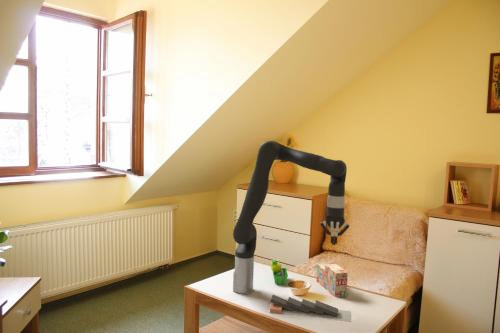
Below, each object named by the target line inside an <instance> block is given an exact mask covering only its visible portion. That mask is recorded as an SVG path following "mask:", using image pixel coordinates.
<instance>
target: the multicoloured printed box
mask: <svg viewBox="0 0 500 333" xmlns="http://www.w3.org/2000/svg"><path fill="white" fill-rule="evenodd" d="M348 276H349V272H348V271H346V270H345V269H344V268H343V267H341V266H340V265H338V264H336V263H330V264H329V263H320V264H316V282H317V283H318V284H319V285H320V286H321V287H322V288H324V289H325V290H326V291H327V292H328V293H329V294H330V295H331V296H332V297H334V298H336V297H337V298H339V297H340V298H343V297H344V298H346V297H347V292H348V291H347V289H348V278H349V277H348Z"/></svg>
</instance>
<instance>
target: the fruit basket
mask: <svg viewBox="0 0 500 333" xmlns="http://www.w3.org/2000/svg"><path fill="white" fill-rule="evenodd" d="M270 266H271V268H270V270H271V271H272V276H273V279H274V284H275V285H286V283H287V280H288V277H289V274H288V268H286V267H282V264H281V263H280V262H278V261H277V260H276V259H273V260H271V262H270Z"/></svg>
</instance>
